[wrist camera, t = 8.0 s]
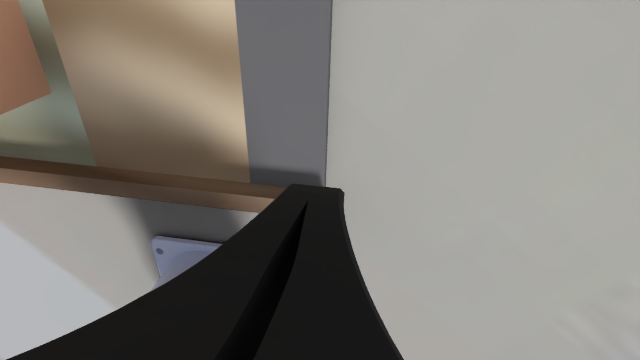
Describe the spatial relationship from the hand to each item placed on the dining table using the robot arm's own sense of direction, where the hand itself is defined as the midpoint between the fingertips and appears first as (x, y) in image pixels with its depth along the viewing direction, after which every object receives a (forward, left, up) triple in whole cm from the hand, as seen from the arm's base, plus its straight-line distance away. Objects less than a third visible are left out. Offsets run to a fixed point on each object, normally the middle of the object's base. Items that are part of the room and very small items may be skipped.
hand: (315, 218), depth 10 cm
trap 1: (+2, +3, -9) cm, 10 cm away
